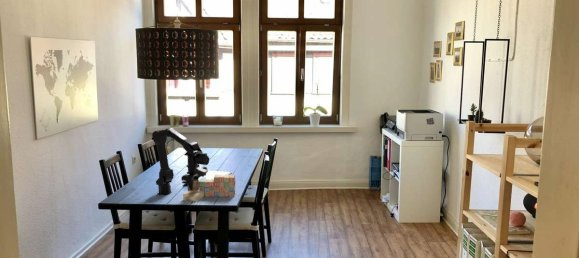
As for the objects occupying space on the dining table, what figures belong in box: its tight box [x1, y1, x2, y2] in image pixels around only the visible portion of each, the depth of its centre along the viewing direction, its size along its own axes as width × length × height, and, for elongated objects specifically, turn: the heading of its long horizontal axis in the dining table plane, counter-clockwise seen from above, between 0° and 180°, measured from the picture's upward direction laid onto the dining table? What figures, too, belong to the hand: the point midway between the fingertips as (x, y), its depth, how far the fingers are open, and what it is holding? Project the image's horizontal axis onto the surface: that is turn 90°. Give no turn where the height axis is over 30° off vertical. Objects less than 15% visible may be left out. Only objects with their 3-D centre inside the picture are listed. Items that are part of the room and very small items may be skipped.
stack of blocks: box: [198, 174, 236, 198], centre depth 277 cm, size 21×6×12 cm, turn 90°
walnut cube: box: [186, 179, 200, 192], centre depth 270 cm, size 5×5×6 cm
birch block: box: [182, 190, 205, 202], centre depth 271 cm, size 9×9×4 cm
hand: (193, 188), depth 270 cm, fingers closed on walnut cube, 5 cm apart
